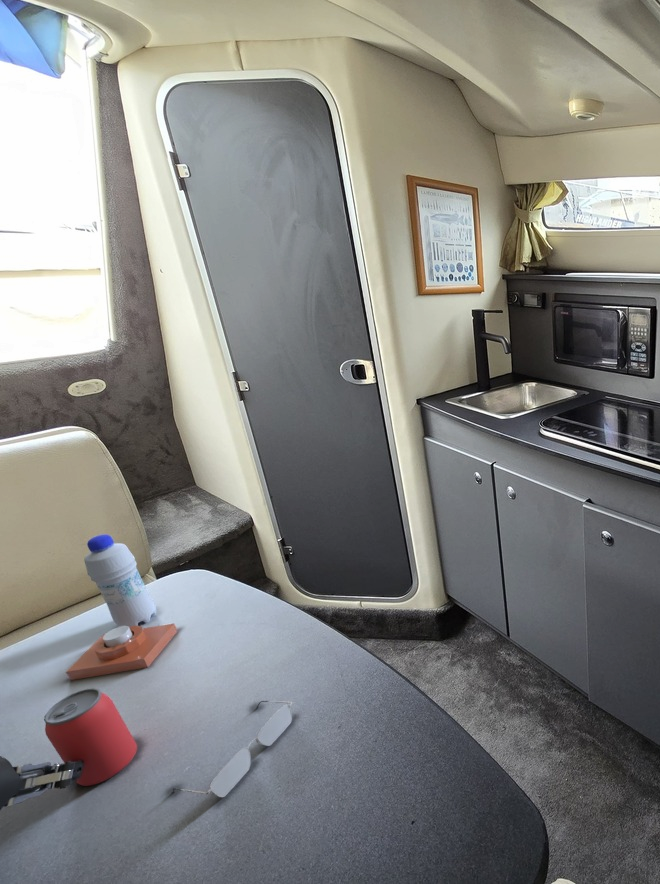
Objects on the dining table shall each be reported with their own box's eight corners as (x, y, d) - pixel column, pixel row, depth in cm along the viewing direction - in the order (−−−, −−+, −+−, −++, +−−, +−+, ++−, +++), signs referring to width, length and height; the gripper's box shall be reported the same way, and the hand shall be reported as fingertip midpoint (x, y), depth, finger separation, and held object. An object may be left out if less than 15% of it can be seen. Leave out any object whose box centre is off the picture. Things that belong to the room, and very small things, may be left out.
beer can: (75, 768, 71) (36, 708, 67) (135, 735, 76) (102, 676, 71) (79, 798, 67) (39, 736, 63) (142, 761, 72) (108, 701, 67)
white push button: (101, 649, 88) (97, 641, 87) (115, 634, 91) (111, 627, 90) (124, 645, 88) (120, 638, 88) (137, 631, 92) (134, 624, 91)
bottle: (108, 630, 97) (63, 545, 90) (144, 607, 103) (105, 525, 96) (133, 635, 96) (89, 549, 88) (168, 611, 102) (130, 529, 94)
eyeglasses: (216, 809, 65) (204, 788, 64) (171, 798, 67) (159, 778, 66) (299, 716, 78) (290, 697, 76) (259, 709, 80) (250, 691, 78)
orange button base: (71, 681, 86) (60, 664, 84) (108, 643, 94) (99, 626, 93) (148, 668, 88) (140, 651, 86) (178, 632, 96) (170, 615, 95)
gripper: (15, 748, 53) (137, 728, 69) (-133, 775, 51) (27, 748, 67) (-7, 833, 50) (125, 792, 66) (-166, 866, 48) (10, 815, 64)
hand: (76, 770), depth 66 cm, fingers closed
